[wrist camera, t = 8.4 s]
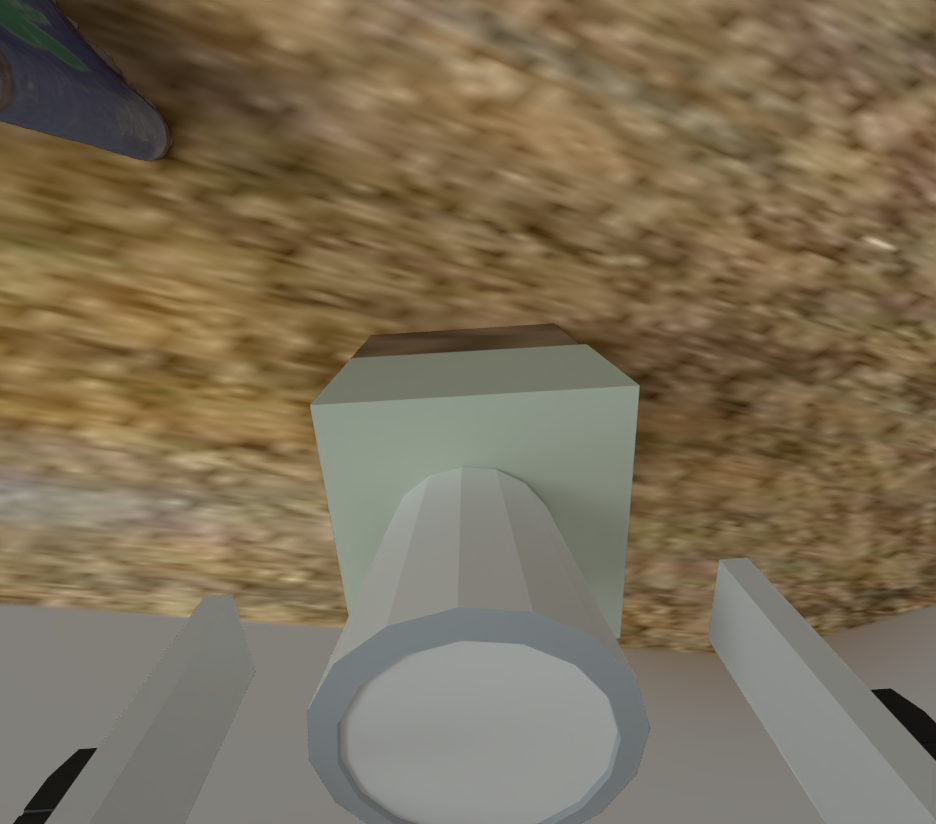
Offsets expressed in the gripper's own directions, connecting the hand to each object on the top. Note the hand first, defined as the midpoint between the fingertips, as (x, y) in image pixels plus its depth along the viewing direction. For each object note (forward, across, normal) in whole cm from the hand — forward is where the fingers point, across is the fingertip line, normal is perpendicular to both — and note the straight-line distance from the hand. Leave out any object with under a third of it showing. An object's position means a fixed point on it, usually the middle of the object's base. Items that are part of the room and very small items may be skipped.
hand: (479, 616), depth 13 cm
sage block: (+9, 0, 0) cm, 9 cm away
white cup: (+4, 0, 0) cm, 4 cm away
